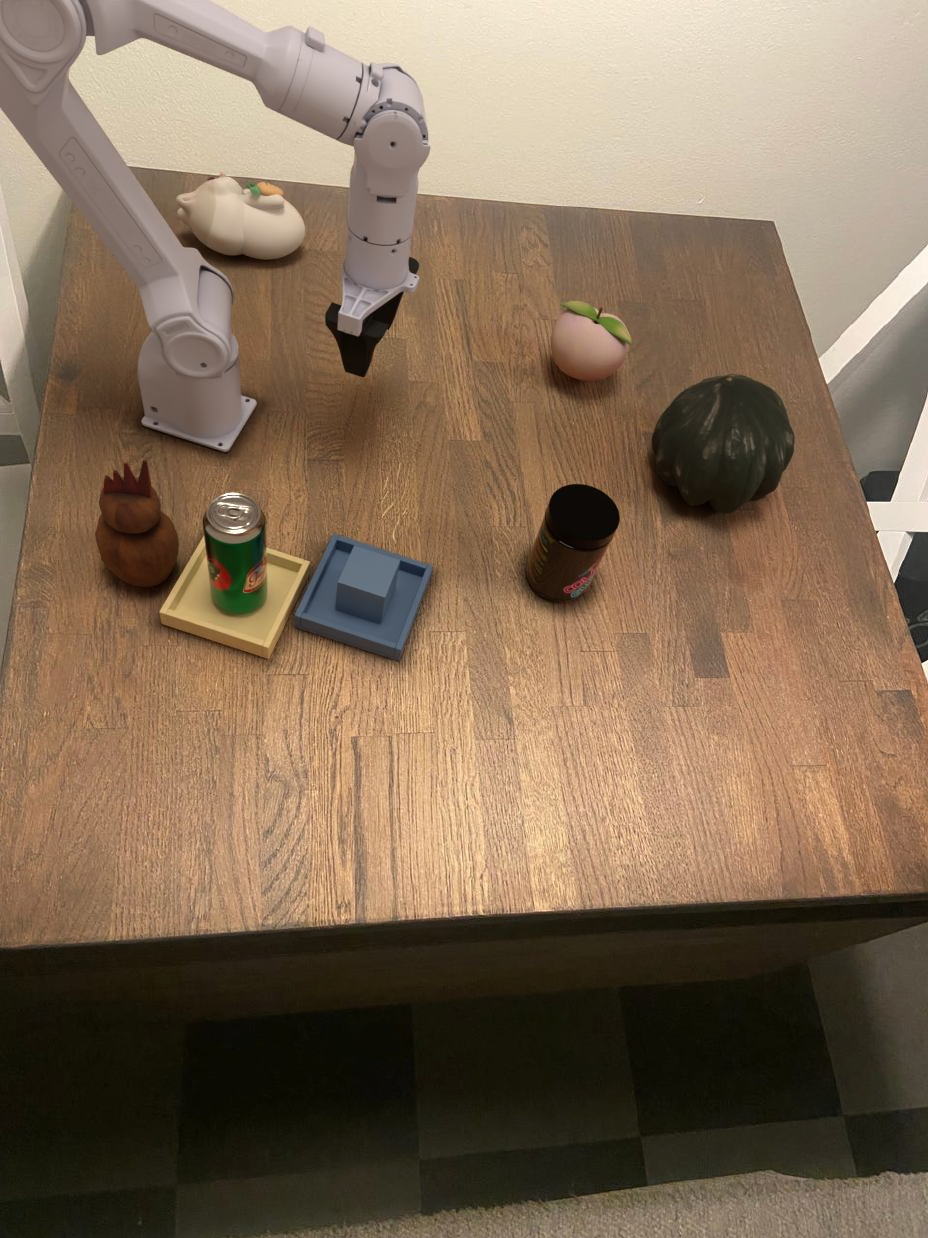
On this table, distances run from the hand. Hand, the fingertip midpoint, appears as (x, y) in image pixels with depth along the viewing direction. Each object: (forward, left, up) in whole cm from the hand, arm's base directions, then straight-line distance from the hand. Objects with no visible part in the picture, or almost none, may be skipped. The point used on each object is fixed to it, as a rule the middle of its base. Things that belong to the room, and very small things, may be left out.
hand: (368, 348), depth 91 cm
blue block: (+8, -22, -10) cm, 25 cm away
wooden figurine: (-12, -26, -11) cm, 31 cm away
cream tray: (-3, -26, -10) cm, 28 cm away
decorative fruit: (+21, +18, -11) cm, 30 cm away
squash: (+38, +8, -11) cm, 40 cm away
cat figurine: (-23, +22, -11) cm, 34 cm away
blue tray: (+8, -22, -10) cm, 26 cm away
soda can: (-3, -26, -10) cm, 28 cm away
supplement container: (+25, -12, -11) cm, 30 cm away
